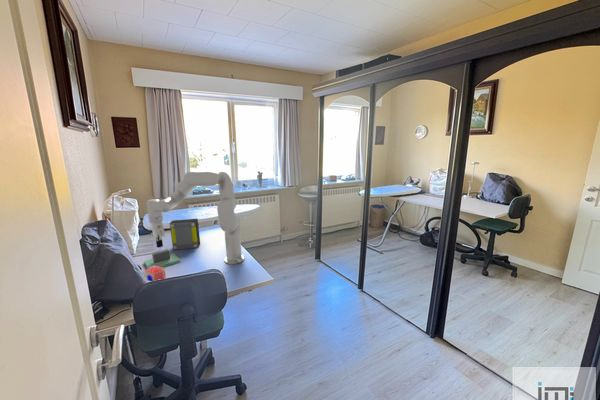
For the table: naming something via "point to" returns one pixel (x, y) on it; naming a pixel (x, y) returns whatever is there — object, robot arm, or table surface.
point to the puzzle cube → (154, 273)
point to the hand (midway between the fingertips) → (159, 246)
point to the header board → (171, 261)
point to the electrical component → (185, 233)
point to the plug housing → (161, 256)
